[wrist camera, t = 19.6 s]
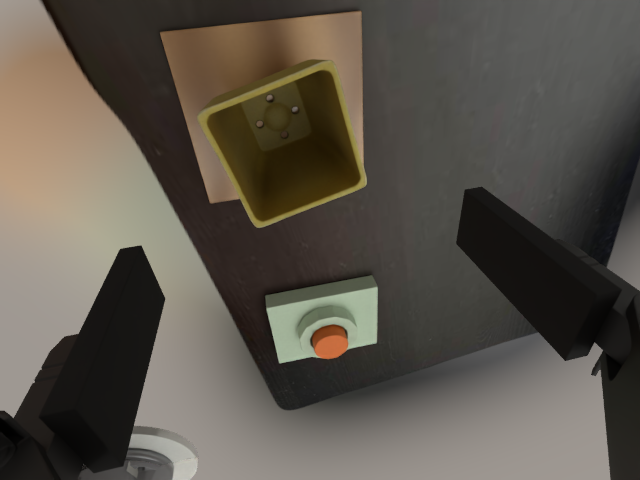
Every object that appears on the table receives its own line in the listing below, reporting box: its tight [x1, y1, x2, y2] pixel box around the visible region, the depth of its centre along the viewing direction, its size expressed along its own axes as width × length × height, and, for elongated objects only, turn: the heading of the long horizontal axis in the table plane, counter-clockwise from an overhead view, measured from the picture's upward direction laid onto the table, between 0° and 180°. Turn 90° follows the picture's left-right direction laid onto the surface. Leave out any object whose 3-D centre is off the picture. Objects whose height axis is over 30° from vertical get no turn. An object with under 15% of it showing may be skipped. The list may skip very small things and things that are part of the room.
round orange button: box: [312, 324, 348, 359], centre depth 41 cm, size 4×4×2 cm
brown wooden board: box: [160, 11, 364, 203], centre depth 30 cm, size 15×14×1 cm
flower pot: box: [197, 59, 367, 228], centre depth 26 cm, size 9×9×9 cm
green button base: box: [265, 275, 378, 363], centre depth 43 cm, size 13×10×4 cm
